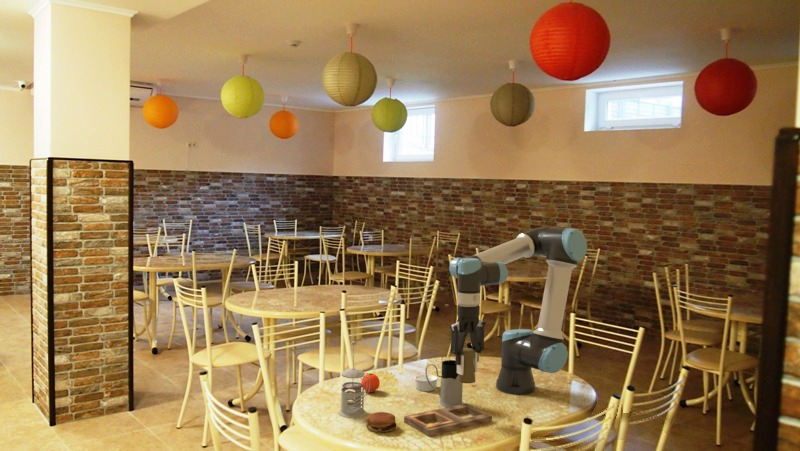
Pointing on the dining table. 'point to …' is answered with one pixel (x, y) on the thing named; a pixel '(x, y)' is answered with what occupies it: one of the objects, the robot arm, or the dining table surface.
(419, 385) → the ramekin
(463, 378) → the cork
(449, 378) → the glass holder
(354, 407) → the french press
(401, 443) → the dining table surface
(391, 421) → the burger
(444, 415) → the socket rail
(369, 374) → the tomato
